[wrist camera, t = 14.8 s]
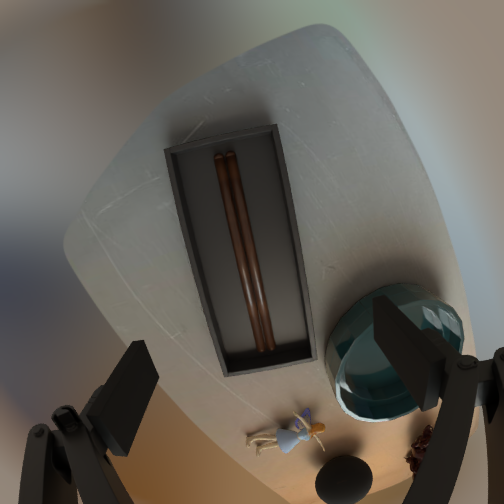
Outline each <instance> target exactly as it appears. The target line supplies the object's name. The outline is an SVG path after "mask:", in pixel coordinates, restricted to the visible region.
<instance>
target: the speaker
mask: <svg viewBox="0 0 504 504" xmlns="http://www.w3.org/2000/svg"><path fill="white" fill-rule="evenodd" d="M372 481H373V475H372V471H371V469H370V467H369V466H368V464H367V463H366V462H364V461H363V460H361V459H359V458H357V457H353V456H342V457H338V458H335V459H333V460H331V461H329V462H328V463H326V464H325V465H324V466H323V467H322V468H321V469H320V471H319V472H318V474H317V477H316V481H315V488H316V492H317V494H318V496H319V497H320V498H321V499H322V500H323V501H324V502H326V503H327V504H354V503H356V502H358V501H360V500H361V499H362V498H364V497H365V496H366V494H367V493H368V492H369V490H370V488H371V485H372Z"/></svg>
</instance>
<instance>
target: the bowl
mask: <svg viewBox="0 0 504 504" xmlns="http://www.w3.org/2000/svg"><path fill="white" fill-rule="evenodd" d="M384 294H385V295H386V296H387V297H388V298H389V299H390V300H391V301H392V302H393V303H394V304H395V305H396V306H397V307H398V308H399V309H400V310H401V311H402V312H403V313H404V314H405V315H406V316H407V317H408V318H409V319H410V320H411V321H412V322H413V323H414V324H415V325H416V326H417V327H418V328H419V329H420V330H423V329H426V328H431V329H433V330H435V331H437V332H438V333H439V334H440V335H441V336H442V337H444V338H445V339H446V340H447V342H449V343H450V344H451V345H452V346H453V347H454V348H455V349H456V350H457V351H458V352H459V353H460V354H462V348H463V342H464V332H463V326H462V321H461V319H460V317H459V316H458V314H457V313H456V311H455V310H454V308H453V307H451V306H450V305H449V304H447V303H446V302H444V301H443V300H442V299H440V298H439V297H438V296H436V295H435V294H433V293H432V292H430V291H429V290H427V289H425V288H423V287H421V286H419V285H416V284H403V283H398V284H394V285H391V286H387V287H383V288H379V289H378V290H376V291H374V292H373V293H371V294H369V295H367V296H366V297H364V298H362V299H361V300H359V301H358V302H357V303H356V304H355V305H354V306H353V307H352V308H351V309H350V310H349V311H348V312H347V313H346V314H345V315H344V316H343V317H342V318H341V319H340V321H339V323H338V324H337V326H336V328H335V329H334V331H333V333H332V334H331V336H330V338H329V342H328V346H327V350H326V354H325V362H326V372H327V375H328V378H329V381H330V383H331V386H332V389H333V391H334V394H335V397H336V399H337V401H338V403H339V404H340V406H341V408H342V409H343V411H344V412H345V413H347V414H348V415H350V416H352V417H353V418H355V419H357V420H361V421H367V422H381V421H390V420H393V419H396V418H399V417H402V416H404V415H407V414H409V413H411V412H413V411H414V410H416V409H418V408H419V406H418V405H417V403H416V402H415V400H414V398H413V397H412V395H411V394H410V392H409V391H408V389H407V388H406V386H405V385H404V383H403V382H402V380H401V379H400V377H399V376H398V374H397V373H396V371H395V370H394V368H393V367H392V365H391V364H390V362H389V361H388V359H387V358H386V356H385V355H384V353H383V352H382V350H381V349H380V348H379V346H378V345H377V343H376V342H375V340H374V329H373V303H372V298H373V297H377V296H381V295H384Z"/></svg>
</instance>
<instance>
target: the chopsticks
mask: <svg viewBox="0 0 504 504" xmlns="http://www.w3.org/2000/svg"><path fill="white" fill-rule="evenodd" d="M225 158H226V163H227V167H228V172H229V177H230V182H231V186H232V191H233V195H234V200H235V205H236V209H237V214H238V219H239V223H240V228H241V232H242V237H243V242H244V246H245V251H246V255H247V260H248V264H247V260H246V255H245V251H244V246H243V242H242V237H241V232H240V228H239V223H238V219H237V214H236V209H235V205H234V200H233V195H232V191H231V186H230V182H229V177H228V172H227V168H226V163H225ZM225 158H224V155H223V154H221V153H217V154H215V156H214V163H215V168H216V173H217V177H218V182H219V187H220V191H221V196H222V200H223V205H224V209H225V214H226V218H227V223H228V227H229V232H230V236H231V241H232V245H233V250H234V254H235V258H236V263H237V267H238V271H239V276H240V280H241V284H242V289H243V293H244V297H245V301H246V306H247V310H248V314H249V318H250V323H251V327H252V331H253V335H254V339H255V343H256V348H257V350H258V352H264V351H265V350H266V346H267V349H268V350H270V351H272V350H274V349H275V348H276V344H275V339H274V334H273V329H272V324H271V320H270V315H269V310H268V305H267V300H266V295H265V291H264V286H263V281H262V276H261V271H260V267H259V262H258V257H257V252H256V247H255V243H254V238H253V233H252V228H251V224H250V219H249V214H248V209H247V205H246V200H245V195H244V190H243V186H242V181H241V176H240V172H239V167H238V162H237V157H236V154H235V152H234V151H228V152H226V154H225ZM248 265H249V269H250V274H251V278H252V283H253V287H254V292H255V296H256V301H257V305H256V301H255V296H254V292H253V287H252V283H251V278H250V274H249V269H248ZM257 306H258V310H259V314H258V310H257ZM259 315H260V319H261V323H260V319H259ZM261 324H262V328H263V332H262V328H261ZM263 333H264V337H265V341H264V337H263ZM265 342H266V345H265Z"/></svg>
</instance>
